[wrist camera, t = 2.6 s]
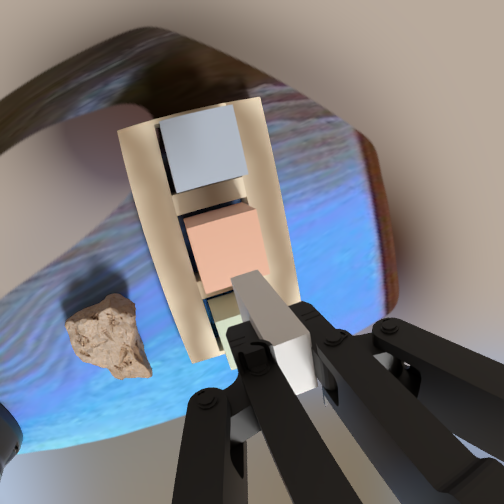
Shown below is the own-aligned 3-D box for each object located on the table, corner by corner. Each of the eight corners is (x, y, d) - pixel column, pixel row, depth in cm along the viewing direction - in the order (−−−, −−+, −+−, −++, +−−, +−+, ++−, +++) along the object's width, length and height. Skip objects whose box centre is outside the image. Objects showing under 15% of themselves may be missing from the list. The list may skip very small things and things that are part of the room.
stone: (136, 286, 32) (131, 305, 28) (155, 368, 35) (155, 393, 31) (65, 294, 30) (52, 313, 25) (91, 373, 33) (85, 398, 29)
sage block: (222, 344, 34) (231, 370, 29) (207, 300, 32) (215, 322, 27) (270, 328, 35) (286, 350, 30) (260, 283, 33) (276, 302, 28)
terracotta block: (199, 274, 31) (206, 294, 26) (183, 218, 29) (186, 228, 24) (254, 257, 32) (270, 273, 28) (241, 202, 30) (256, 209, 26)
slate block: (175, 188, 28) (176, 193, 23) (160, 128, 26) (159, 121, 21) (235, 172, 29) (248, 174, 25) (221, 114, 27) (232, 104, 23)
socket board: (189, 349, 36) (192, 363, 33) (121, 134, 27) (117, 130, 24) (295, 314, 39) (304, 325, 36) (251, 102, 30) (259, 96, 27)
